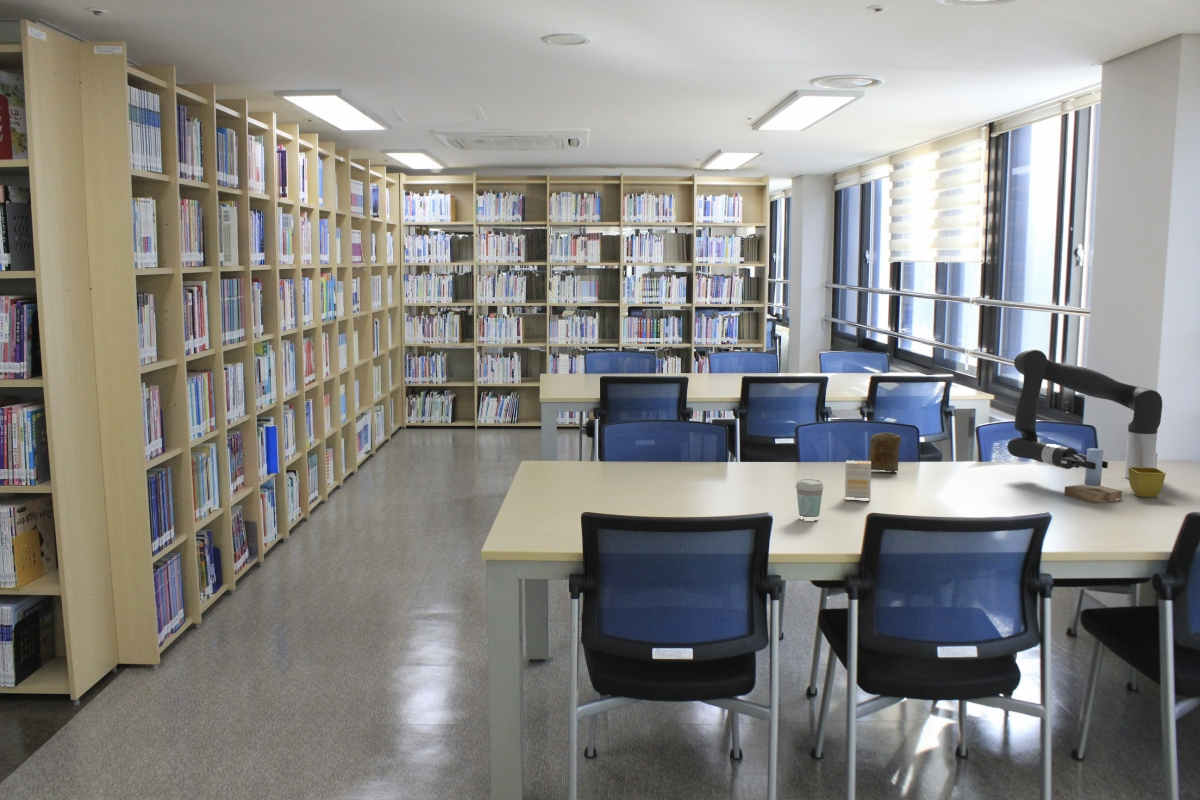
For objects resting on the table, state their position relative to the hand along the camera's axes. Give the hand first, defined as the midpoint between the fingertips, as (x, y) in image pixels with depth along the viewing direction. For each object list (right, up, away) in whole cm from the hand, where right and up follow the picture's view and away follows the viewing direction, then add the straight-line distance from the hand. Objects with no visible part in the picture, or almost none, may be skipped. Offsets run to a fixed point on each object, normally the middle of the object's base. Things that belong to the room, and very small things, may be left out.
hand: (1100, 465), depth 301 cm
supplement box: (-80, -12, +4) cm, 81 cm away
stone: (-58, -6, +48) cm, 75 cm away
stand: (-1, -11, +4) cm, 12 cm away
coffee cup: (-102, -15, -19) cm, 105 cm away
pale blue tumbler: (-1, -7, +3) cm, 7 cm away
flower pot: (+18, -11, +6) cm, 22 cm away
